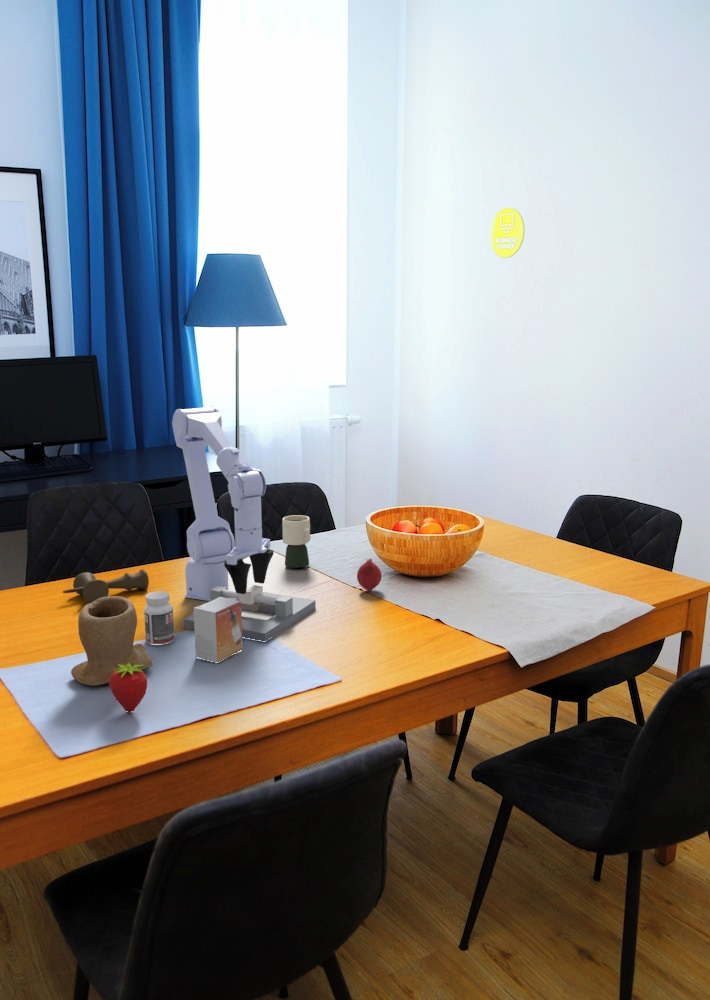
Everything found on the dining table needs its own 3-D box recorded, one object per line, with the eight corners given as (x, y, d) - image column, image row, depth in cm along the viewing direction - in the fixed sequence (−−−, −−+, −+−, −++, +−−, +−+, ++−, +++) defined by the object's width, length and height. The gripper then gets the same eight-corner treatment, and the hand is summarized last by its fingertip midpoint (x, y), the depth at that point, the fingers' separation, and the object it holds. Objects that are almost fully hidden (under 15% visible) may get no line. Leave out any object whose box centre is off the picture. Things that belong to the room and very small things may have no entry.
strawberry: (135, 699, 156) (131, 645, 153) (157, 714, 150) (153, 658, 148) (103, 710, 152) (99, 655, 149) (125, 725, 146) (121, 668, 144)
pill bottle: (179, 637, 183) (177, 592, 181) (165, 648, 178) (162, 600, 176) (155, 634, 185) (152, 589, 183) (140, 644, 180) (137, 597, 178)
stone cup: (94, 698, 156) (88, 617, 153) (64, 677, 165) (57, 601, 161) (169, 673, 166) (165, 596, 163) (136, 655, 175) (132, 582, 171)
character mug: (320, 568, 229) (320, 519, 226) (298, 574, 224) (297, 524, 221) (295, 559, 237) (294, 512, 234) (273, 564, 233) (272, 516, 230)
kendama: (154, 595, 211) (69, 610, 200) (140, 586, 219) (57, 599, 208) (153, 571, 210) (68, 584, 199) (139, 562, 218) (56, 574, 207)
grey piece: (183, 628, 189) (182, 602, 188) (239, 596, 208) (238, 573, 207) (265, 642, 180) (264, 616, 179) (315, 608, 200) (315, 584, 199)
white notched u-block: (234, 607, 192) (234, 590, 192) (247, 601, 197) (247, 583, 196) (254, 611, 190) (254, 593, 190) (267, 604, 195) (267, 586, 194)
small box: (217, 665, 170) (214, 612, 168) (194, 659, 173) (192, 607, 170) (243, 651, 177) (241, 600, 174) (221, 645, 179) (219, 595, 177)
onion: (379, 595, 208) (379, 563, 206) (354, 594, 209) (354, 561, 208) (383, 587, 214) (383, 555, 212) (359, 586, 215) (359, 554, 213)
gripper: (246, 537, 182) (248, 600, 185) (281, 521, 194) (283, 580, 198) (217, 533, 185) (219, 596, 188) (253, 517, 197) (255, 576, 200)
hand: (250, 587), depth 193 cm, fingers open, 7 cm apart
